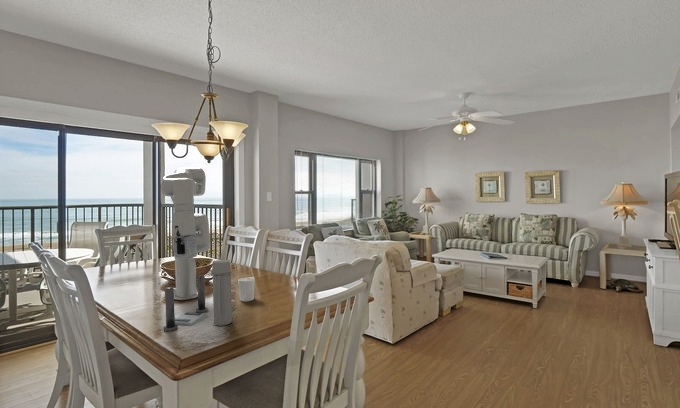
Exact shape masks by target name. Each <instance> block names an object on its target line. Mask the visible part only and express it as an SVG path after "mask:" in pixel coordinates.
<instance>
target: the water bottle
mask: <svg viewBox="0 0 680 408" xmlns="http://www.w3.org/2000/svg"><path fill="white" fill-rule="evenodd" d="M211 267H212V268H211V273H210V275H211V276H212V302H213V305H212V306H213V307H212V308H213V324H214V325H215V326H218V327H222V326H228V325H230V324H231V323H233V308H232V307H233V304H232V302H233V301H232V300H233V299H232V297H233V296H232V270H231V263H230V260H229V259H217V260H213V261H212V266H211Z"/></svg>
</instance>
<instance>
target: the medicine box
mask: <svg viewBox="0 0 680 408" xmlns="http://www.w3.org/2000/svg"><path fill="white" fill-rule="evenodd" d="M180 240H181V238H180ZM183 244H185V254H177V244H176V242H175V240H174V250H173V254H174V255H173V257H174V258H175V257H178V258H192V257H193V258H195V257H197V256H198V252H197V245H196V236H185V237H184V243H183Z"/></svg>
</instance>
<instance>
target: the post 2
mask: <svg viewBox="0 0 680 408" xmlns="http://www.w3.org/2000/svg"><path fill="white" fill-rule="evenodd" d="M205 279H206V278H205V274H198V275H196V285H197V292H198V297H197V306H198V307H197V308H196V309H195V313H207V312H208V311H209V308H208V307H206V285H205V284H206V281H205Z"/></svg>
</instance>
